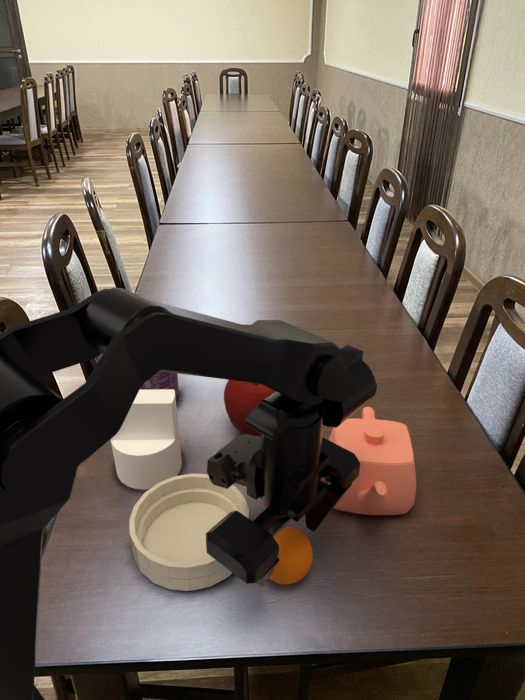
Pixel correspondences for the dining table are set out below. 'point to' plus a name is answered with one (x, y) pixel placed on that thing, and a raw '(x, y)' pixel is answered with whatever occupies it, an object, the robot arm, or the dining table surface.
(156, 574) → the bowl
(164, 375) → the beverage can
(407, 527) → the dining table surface
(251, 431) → the apple
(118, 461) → the cylinder with rectangular tab
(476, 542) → the dining table surface
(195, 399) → the dining table surface
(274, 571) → the orange
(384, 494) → the teapot
